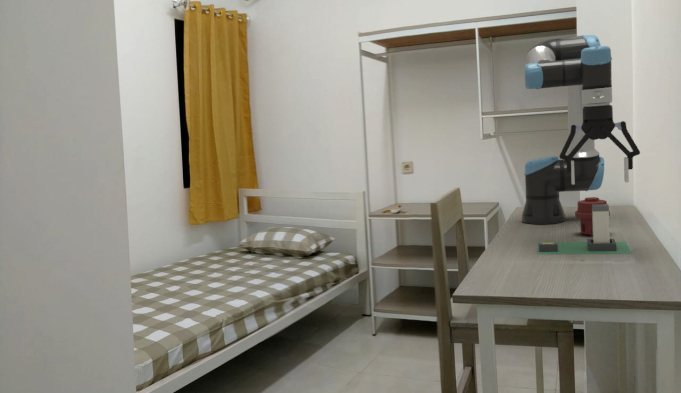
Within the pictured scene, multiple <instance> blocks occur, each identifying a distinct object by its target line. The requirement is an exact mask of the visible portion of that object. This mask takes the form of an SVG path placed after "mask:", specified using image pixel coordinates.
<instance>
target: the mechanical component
mask: <svg viewBox="0 0 681 393" xmlns="http://www.w3.org/2000/svg"><path fill="white" fill-rule="evenodd" d="M592 204H608V202H607V200H604V199H600V198H599V197H597V196H596V197H595V196H591V197H585V198H584V199H582V200H579V201H577V210H576V211H574V215H575V216H574V217H575V218H577V219H579V220H580V233H581V234H582V235H587V236H588V235H589V236H591V237H593V221H592ZM610 216H611V211H610V210H609V217H610Z"/></svg>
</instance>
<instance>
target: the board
mask: <svg viewBox="0 0 681 393" xmlns="http://www.w3.org/2000/svg"><path fill="white" fill-rule="evenodd" d="M627 254H628V255H633V252H632V250H631V248H630V247H629V245H628V243H627V241H625V240H624V241H616V240H615V238H610V243H593V238H586V241H564V242H563V241H556V242H551V241H550V242H548V241H545V242H538V243H537V253H536V255H627Z"/></svg>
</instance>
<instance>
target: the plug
mask: <svg viewBox="0 0 681 393" xmlns="http://www.w3.org/2000/svg"><path fill="white" fill-rule="evenodd" d="M609 211H610V206H609V204H608V203H607V204H592V221H593V236H592V239H593V243H610V239H611V236H610V235H611V234H610V232H611V231H610V216H609Z"/></svg>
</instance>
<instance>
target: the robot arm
mask: <svg viewBox="0 0 681 393" xmlns="http://www.w3.org/2000/svg"><path fill="white" fill-rule="evenodd" d="M524 60H525V61H524V62H525V65H524V86H525V88H526V89H527V90H540V89H548V88H549V89H550V88H559V87H561V88H562V87H566V88H567V89H566V91H567V93H566V94H567V95H566V98H567V128H568V129H567V130H568V131H567V132H568V133H567V136H568V137H567V139H566V141H565V143H564V146H563V147H562V149H561V151H560V153H559V157H558V155H551V156H543V157H539V158H534V159H530V160H528V161H526V163H525V164H524V177H525V178H524V180H525V181H524V182H525V203H524V206H523V209H522V210H523V211H522V214H521V221H522V223H524V224H530V225H551V224H553V225H554V224H559V223H560V224H561V223H563V222H565V221H566V213H565V210H564V208H563V205H562V202H561V200H560V193H561V192H562V193H563V192H584V191H585V192H588V191H597V190H598V189H600V188H601V186H602V185H603V182H604V181H603V180H604V175H605V160H604V157H602V156H600V152H599V150H597V149H596V148H595V147H596V146H595V145H596V144H595V141H596V140H605V139H607V138H609V139H610V140H611V141H612V143H613V144H614V145H615V146H617V147H618V149H619V150H621V151H622V153H624V154H625V157H623V172H624V182H625V183H629V182H630V177H629V170H633V167H634V166H633V165H634V159H633V158H634V157H636V156H639V155H640V154H641V151H640V150H639V148H638V146H637V144H636V143H635V141H634V139H633V137H632V136H631V134H630V133H629V130H628V128H627V122H626V121H624V120H621V121H618V122H614V115H613V113H614V112H613V110H614V108H613V105H612V104H611V103H613V86H612V85H613V84H612V81H613V80H612V60H613V58H612V50H611V47H610V46H608V45H601V42H600V39H599V38H598V36H596V35H594V34H589V35H587V34H586V35H577V36H568V37H560V38H550V39H546V40H544V41H541V42H539V43H537V44H535V45H534V46H532V47H531V48H529V50H528V51H527V53H526V56H525V58H524ZM615 128H617V130H619V131H621V133H622V135H623V136H624V138H625V139H626V142H627V143H628V145H629V146H630V149H631V150H632V151H630V150H629V149H628V148H627V147H626V146H625V145H624V144H623V143H622V142H621V141H620V140H619V139H618V138H617V137H616V136H615V135H614V134H613V133H612V132H613V131H614V129H615Z"/></svg>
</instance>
